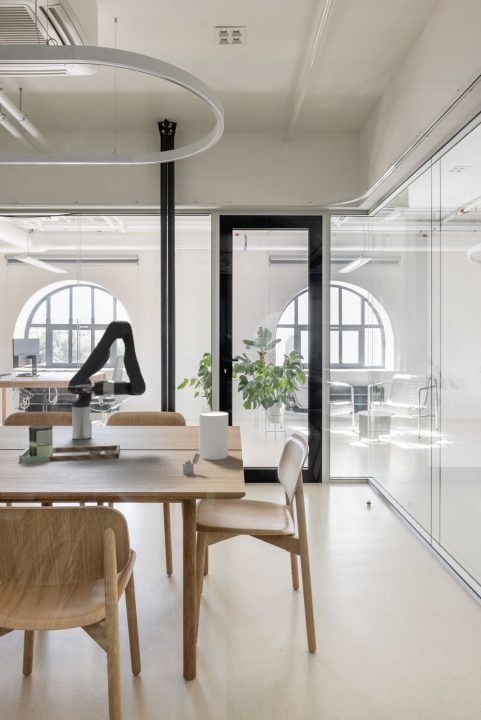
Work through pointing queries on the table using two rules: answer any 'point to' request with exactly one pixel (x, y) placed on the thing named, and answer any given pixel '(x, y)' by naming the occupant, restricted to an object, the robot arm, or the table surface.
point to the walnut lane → (85, 457)
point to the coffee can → (40, 440)
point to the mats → (105, 452)
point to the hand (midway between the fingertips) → (67, 388)
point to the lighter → (190, 465)
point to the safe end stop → (33, 458)
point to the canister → (213, 435)
